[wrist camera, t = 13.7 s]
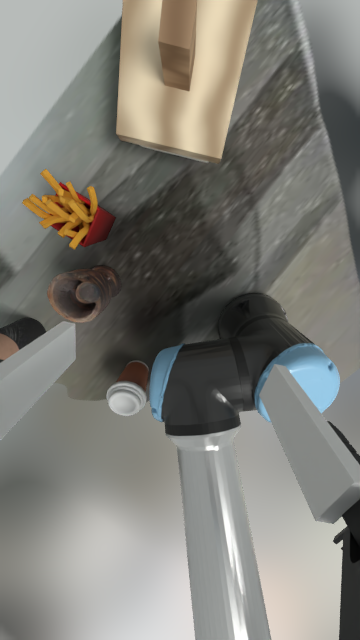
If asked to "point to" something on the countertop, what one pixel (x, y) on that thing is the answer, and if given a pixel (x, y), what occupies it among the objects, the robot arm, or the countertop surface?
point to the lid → (181, 73)
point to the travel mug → (19, 336)
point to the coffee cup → (129, 389)
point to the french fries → (72, 213)
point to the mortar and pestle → (83, 292)
